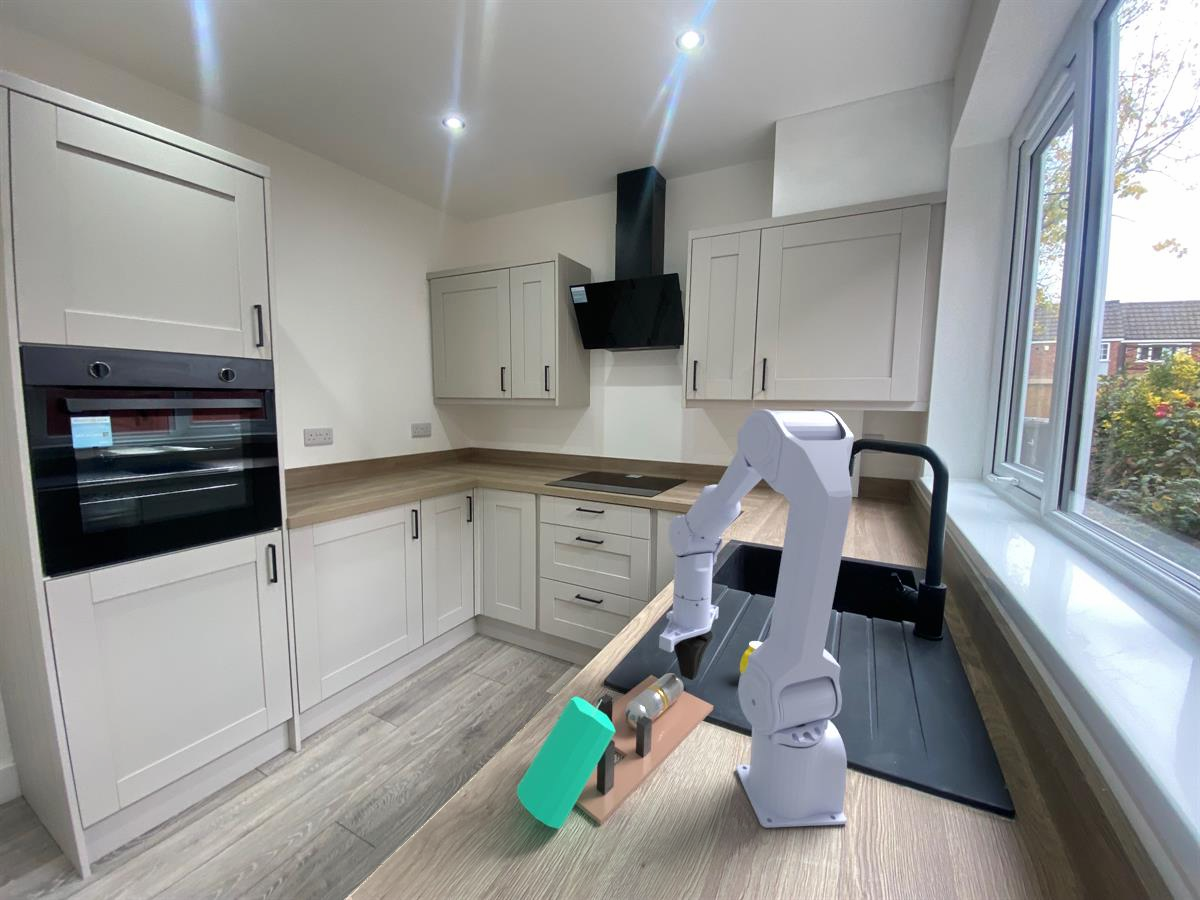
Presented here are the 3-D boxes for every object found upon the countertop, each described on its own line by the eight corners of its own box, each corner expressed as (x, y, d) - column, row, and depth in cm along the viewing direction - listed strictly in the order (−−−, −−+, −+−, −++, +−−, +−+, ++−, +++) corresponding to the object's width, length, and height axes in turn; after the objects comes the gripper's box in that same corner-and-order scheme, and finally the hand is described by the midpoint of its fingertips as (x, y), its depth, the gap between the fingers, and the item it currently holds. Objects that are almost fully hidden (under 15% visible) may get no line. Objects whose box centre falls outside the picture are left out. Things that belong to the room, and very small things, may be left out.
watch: (761, 672, 78) (765, 638, 77) (774, 681, 75) (778, 646, 75) (734, 678, 75) (738, 643, 75) (747, 688, 73) (751, 652, 72)
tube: (667, 687, 72) (667, 664, 71) (687, 697, 69) (688, 674, 69) (618, 727, 63) (618, 702, 62) (640, 741, 60) (641, 714, 60)
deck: (651, 678, 75) (651, 674, 75) (713, 709, 68) (713, 705, 68) (532, 769, 56) (532, 764, 56) (600, 825, 49) (600, 820, 49)
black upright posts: (605, 722, 64) (606, 684, 63) (650, 750, 59) (652, 709, 58) (557, 760, 57) (558, 717, 56) (604, 795, 52) (605, 749, 51)
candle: (537, 786, 53) (595, 688, 56) (572, 828, 49) (632, 720, 52) (506, 783, 49) (570, 678, 52) (542, 829, 45) (609, 712, 48)
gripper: (693, 573, 79) (689, 648, 81) (643, 599, 68) (640, 686, 70) (731, 584, 75) (727, 664, 76) (684, 615, 64) (680, 707, 65)
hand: (688, 675), depth 73 cm, fingers closed
